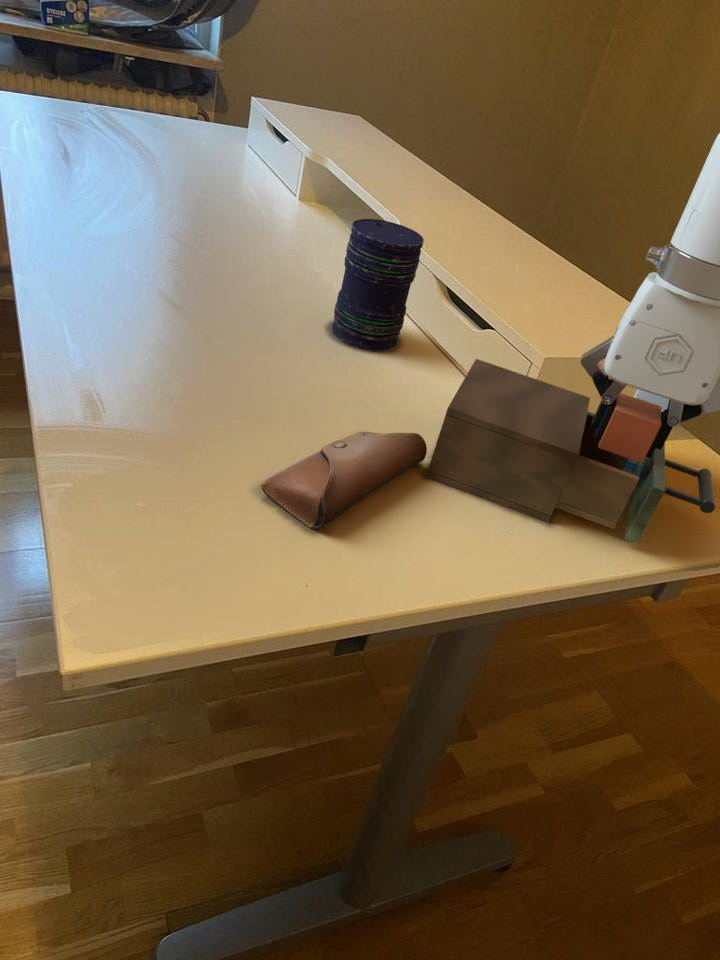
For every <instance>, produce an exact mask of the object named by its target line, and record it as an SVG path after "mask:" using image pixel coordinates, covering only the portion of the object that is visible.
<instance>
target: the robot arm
mask: <svg viewBox="0 0 720 960" xmlns="http://www.w3.org/2000/svg"><path fill="white" fill-rule="evenodd" d="M645 261H646V262H650V263H652V265H655V269H657V271H656V272H655V271H653V272H649V273H648V275H647V276H646V277H645V279H643V282H642V283H641V285H640V286H639V287H638V289H637V291H636V293H635V295H634V296H633V298H632V299H631V301H630V303H629V304H628V306H627V308H626V310H625V312H624V314H623V316H622V318H621V319H620V322H619V324H618V326H617V328H616V330H615V332H614V334H613V335H612V336H611V337H609V338H607V339H606V340H604V341H603V342H601V343H599V344H597V345H596V346H593V348H591V349H589V350H587V351H586V352H584V353H583V354H582V355H581V358H580V365H581V366H582V368H583V369H584V370H585V372H586V373H587V374H588V376H589V377H590V378H591V379H592V382H593V385H594V387H595V388H596V391H597V393H598V394H599V397H600V398H601V399H600V402H599V404H598V407H597V409H596V411H595V413H594V414H595V416H594V418H593V421H592V424H591V426H592V427H595V428H596V430H595V437H594V439H596V440H601V438H602V436H603V434H604V432H605V429H606V427H607V425H608V423H609V421H610V418H611V416H612V414H613V412H614V409H615V402H616V399H617V397H618V395H619V394H620V393H622V392H623V391H624V390H625V388H626V387H629V388H630V387H631V388H633V389H636V390H637V389H639V390H642V391H645V392H648V393H651V394H654V395H658V396H661V397H664V398H667V399H669V401H668V406H667V409H666V410H664V411H663V412H661V427H660V429H659V431H658V433H657V435H656V437H655V439H654V441H653V443H652V445H651V447H650V449H649V451H648V453H647V455H646V457H649V458H651V457H652V455H653V453H654V451H655V449H656V448H657V449H660V450H661V449H662V447H663V445H664V444H665V445H666V441H667V440H668V437H669V436H670V434H671V432H672V430H673V428H675V427H678V426H679V425H680V424H681V423H684V422H686V421H689V420H692V419H694V418H697V417H700V416H701V415H703V414H705V415H706V414H711V413H714V412H719V411H720V132H719V133H718V134H717V136H716V138H715V140H714V141H713V144H712V146H711V148H710V151H709V153H708V155H707V157H706V159H705V162H704V164H703V166H702V169H701V171H700V173H699V175H698V177H697V180H696V182H695V185H694V187H693V189H692V192H691V194H690V196H689V198H688V201H687V203H686V206H685V207H684V210H683V212H682V213H681V217H680V219H679V221H678V224H677V226H676V228H675V230H674V232H673V235H672V237H671V240H669V241H668V243H667V245H666V244H664V246H663V247H662V246H659V247H657V246H653V245H650V247H649V249H648V250H647V253H646V256H645ZM603 360H604V363H603V367H602V365H601V363H600V362H601V361H603Z"/></svg>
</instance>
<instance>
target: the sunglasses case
mask: <svg viewBox="0 0 720 960" xmlns="http://www.w3.org/2000/svg"><path fill="white" fill-rule="evenodd" d="M427 451H428V447H427V444H426V440H425V439H424V437H423V436H422V435H421V434H419V433H416V432H387V433H382V432H381V433H379V432H371V431H358V432H355V433H353V434H350V435H348V436H346V437H344V438H342V439H341V438H340V439H338V440H335V441H333V442H331V443H328V444H326V445H324V446H322V448H321V449H320V450H319V451H317V452H315V453H313V454H311V455H309V456H307V457H305V458H303V459H301V460H299V461H297V462H295V463H293V464H291V465H289V466H288V467H286V468H284V469H282V470H280V471H278V472H276V473H274V474H273V475H271V476H269V477H268V478H266V479H265V480H264V481H263V482H262V483H260V487H261V490H262V492H263V493H264V494H265V495H267V497H268V498H270V499H271V501H273V502H274V503H275V504H276V505H277V506H279V507H280V508H281V509H283V511H285V512H286V513H288V514H289V515H291V516H292V517H293V518H295V519H296V520H297V521H299V522H300V523H301V524H303V525H304V526H306V527H307V528H309V529H315V530H317V529H319V528H321V527H324V526H327V525H328V524H330V523H332V522H333V521H334V520H335V519H337V518H339V517H340V516H341V515H343V514H344V513H345V512H347V511H348V510H349V509H351V508H352V507H353V506H355V505H357V504H358V503H360V502H361V501H362V500H364V499H365V498H367V497H368V496H370V495H371V494H373V493H374V492H376V491H377V490H379V489H380V488H382V487H384V486H385V485H387V484H388V483H389V482H391V481H393V480H394V479H396V478H397V477H398V478H399V477H400V475H402V474H404V473H406V472H407V471H409V470H410V469H412V468H414V467H415V466H417V465H418V464H420V463H422V462H423V461H424V460H425V459H426V456H427V453H428V452H427Z"/></svg>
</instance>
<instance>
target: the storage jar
mask: <svg viewBox="0 0 720 960" xmlns="http://www.w3.org/2000/svg"><path fill="white" fill-rule="evenodd" d="M350 231H351V233H350V234H349V238H348V242H347V246H346V251H345V252H346V254H345V257H344V273H343V278H342V281H341V282H342V283H341V288H340V289H339V291H338V294H337V296H336V297H337V298H336V302H335V305H334V309H333V310H334V311H333V314H334V315H333V322H332V325H331V333H332V335H333V336H334V337H335V338H336V339H337V340H339V341H340V342H341V343H343V344H345V345H347V346H350V347H352V348H354V349H355V348H356V349H359V350H361V351H368V352H369V351H370V352H387V351H391V350H393V349H395V348H396V347H397V345H398V342H399V336H400V334H401V330H402V329H403V326H404V322H405V316H406V311H407V305H406V304H407V300H408V296H409V292H410V288H411V285H412V283H413V282H414V281H415V278H416V275H417V274H416V272H417V270H418V268H419V264H420V257H421V254H422V253H421V252H422V248H423V245H424V243H425V242H424V241H425V239H424V236H422V235H421V234H420V233H419V232H418V231H416V230H413V229H411V228H409V227H408V226H405V225H402V224H399V223H395V222H392V221H387V220H382V219H376V218H375V219H374V218H360V219H355V220H354V221H353V222H352V225H351V230H350Z"/></svg>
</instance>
